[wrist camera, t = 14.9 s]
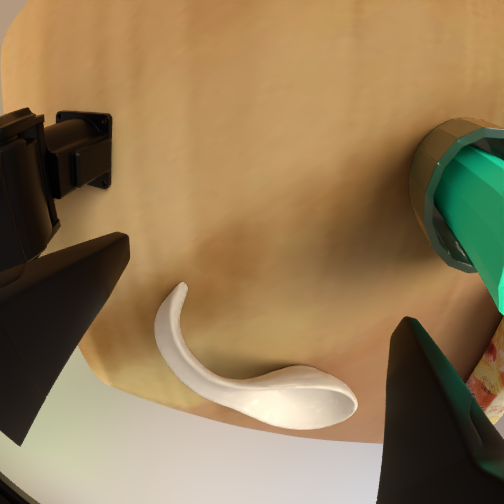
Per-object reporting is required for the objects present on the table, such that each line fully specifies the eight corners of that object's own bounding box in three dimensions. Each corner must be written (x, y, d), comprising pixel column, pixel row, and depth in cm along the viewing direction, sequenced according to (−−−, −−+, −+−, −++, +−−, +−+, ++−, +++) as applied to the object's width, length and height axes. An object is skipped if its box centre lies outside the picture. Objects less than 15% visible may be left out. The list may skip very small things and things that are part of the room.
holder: (388, 220, 20) (399, 249, 17) (433, 94, 15) (457, 99, 11) (484, 257, 19) (502, 286, 16) (530, 152, 14) (560, 170, 11)
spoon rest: (377, 383, 30) (378, 439, 24) (304, 415, 36) (297, 462, 30) (200, 255, 25) (163, 312, 19) (149, 318, 32) (118, 366, 26)
